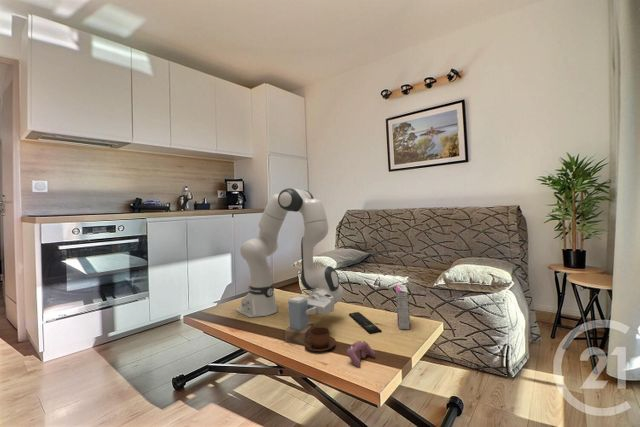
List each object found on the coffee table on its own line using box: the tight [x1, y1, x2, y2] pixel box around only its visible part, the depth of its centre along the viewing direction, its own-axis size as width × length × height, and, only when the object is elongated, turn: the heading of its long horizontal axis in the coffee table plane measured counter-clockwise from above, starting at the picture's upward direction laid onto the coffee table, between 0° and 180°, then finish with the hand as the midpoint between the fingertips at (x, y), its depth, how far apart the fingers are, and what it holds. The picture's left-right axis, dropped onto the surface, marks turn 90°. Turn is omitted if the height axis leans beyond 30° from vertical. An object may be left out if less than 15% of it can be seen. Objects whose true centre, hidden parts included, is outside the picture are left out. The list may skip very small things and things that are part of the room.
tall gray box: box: [287, 296, 310, 331], centre depth 126 cm, size 6×6×12 cm
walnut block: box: [284, 323, 315, 346], centre depth 126 cm, size 9×9×5 cm
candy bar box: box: [395, 284, 411, 330], centre depth 135 cm, size 11×5×16 cm, turn 168°
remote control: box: [348, 311, 382, 335], centre depth 139 cm, size 5×24×1 cm, turn 16°
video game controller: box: [346, 340, 377, 368], centre depth 106 cm, size 10×5×7 cm, turn 134°
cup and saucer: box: [304, 326, 337, 352], centre depth 118 cm, size 12×12×6 cm
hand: (297, 310), depth 125 cm, fingers open, 8 cm apart
